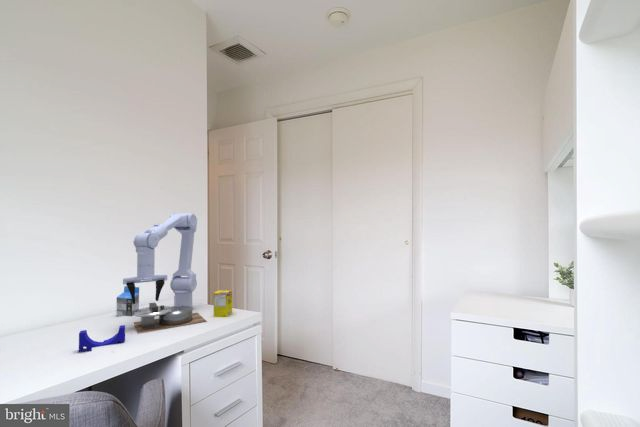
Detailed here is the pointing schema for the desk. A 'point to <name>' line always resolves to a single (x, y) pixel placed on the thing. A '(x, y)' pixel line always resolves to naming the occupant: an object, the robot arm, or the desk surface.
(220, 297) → the supplement box
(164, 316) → the grey dish and cube
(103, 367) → the desk surface
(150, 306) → the lid
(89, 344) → the cable clip
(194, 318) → the walnut board
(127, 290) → the grey blue carton
